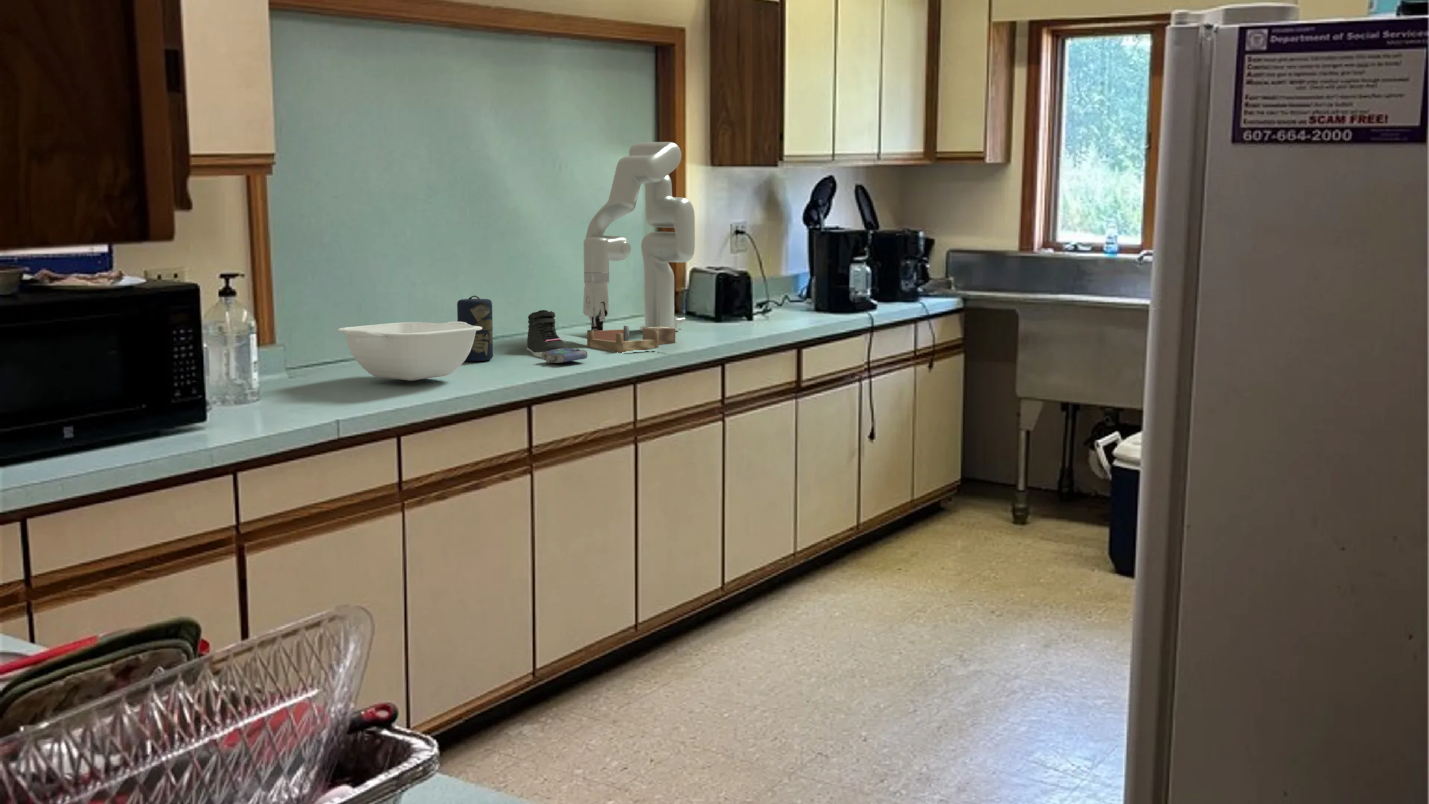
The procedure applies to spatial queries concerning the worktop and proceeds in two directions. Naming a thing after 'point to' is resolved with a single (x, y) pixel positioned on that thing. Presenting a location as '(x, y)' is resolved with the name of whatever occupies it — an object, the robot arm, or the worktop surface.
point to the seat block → (660, 334)
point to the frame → (622, 343)
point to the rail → (611, 334)
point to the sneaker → (543, 333)
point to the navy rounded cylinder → (478, 315)
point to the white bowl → (411, 348)
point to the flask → (564, 355)
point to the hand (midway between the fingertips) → (597, 339)
